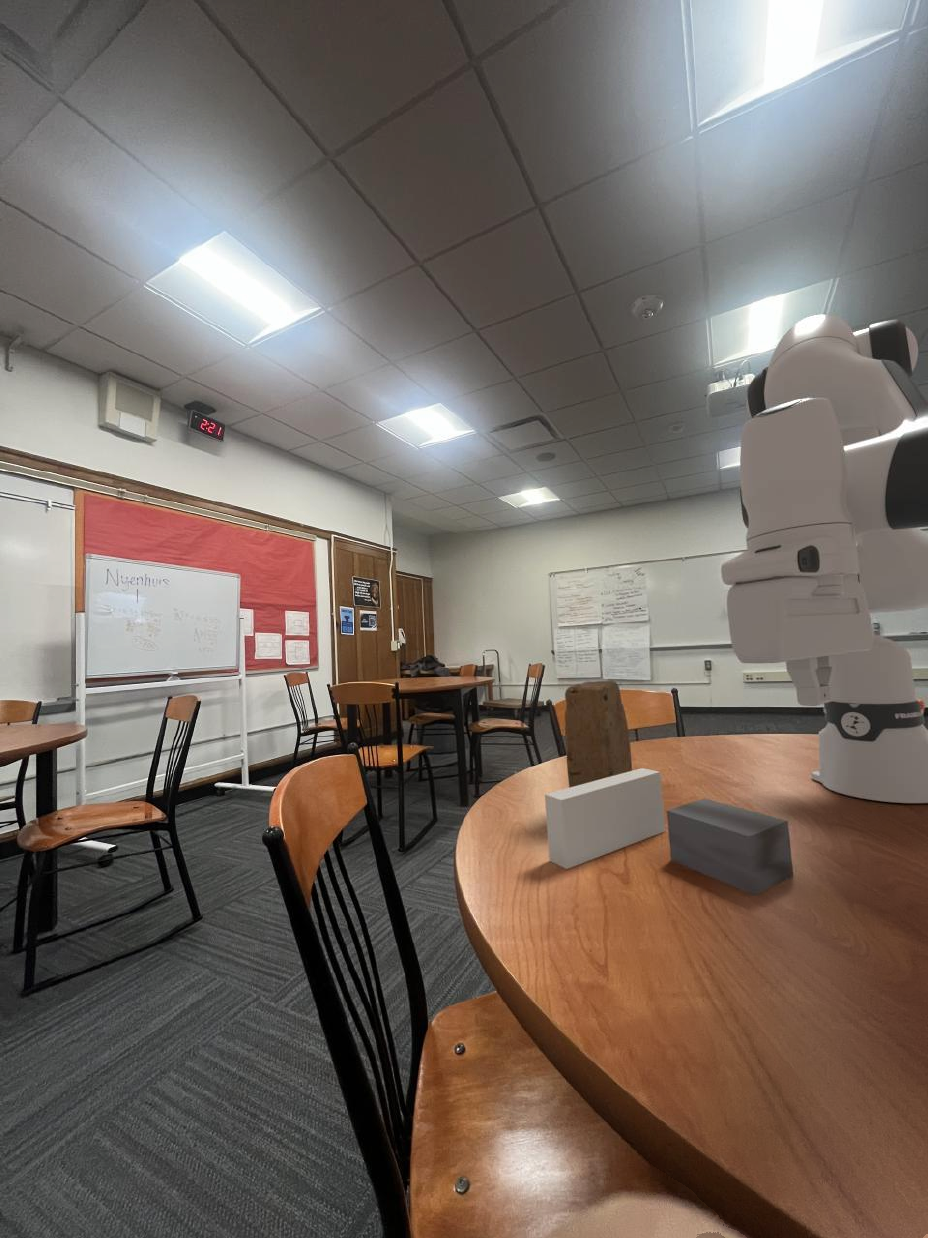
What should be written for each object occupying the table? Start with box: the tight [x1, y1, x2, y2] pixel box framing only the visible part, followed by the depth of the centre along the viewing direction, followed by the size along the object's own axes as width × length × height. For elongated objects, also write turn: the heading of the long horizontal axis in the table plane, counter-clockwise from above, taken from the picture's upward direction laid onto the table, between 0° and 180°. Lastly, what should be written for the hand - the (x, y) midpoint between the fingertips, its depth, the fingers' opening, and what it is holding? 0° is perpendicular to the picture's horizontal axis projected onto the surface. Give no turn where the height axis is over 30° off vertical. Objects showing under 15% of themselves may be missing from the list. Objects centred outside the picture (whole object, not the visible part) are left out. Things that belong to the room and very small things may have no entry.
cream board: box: [544, 767, 666, 870], centre depth 63 cm, size 18×3×8 cm, turn 121°
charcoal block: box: [666, 798, 794, 896], centre depth 55 cm, size 7×10×6 cm
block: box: [564, 680, 633, 788], centre depth 77 cm, size 11×8×20 cm
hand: (815, 704), depth 47 cm, fingers closed
